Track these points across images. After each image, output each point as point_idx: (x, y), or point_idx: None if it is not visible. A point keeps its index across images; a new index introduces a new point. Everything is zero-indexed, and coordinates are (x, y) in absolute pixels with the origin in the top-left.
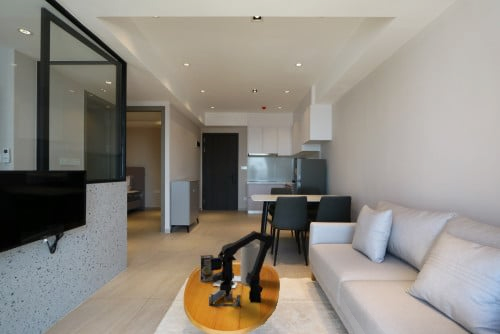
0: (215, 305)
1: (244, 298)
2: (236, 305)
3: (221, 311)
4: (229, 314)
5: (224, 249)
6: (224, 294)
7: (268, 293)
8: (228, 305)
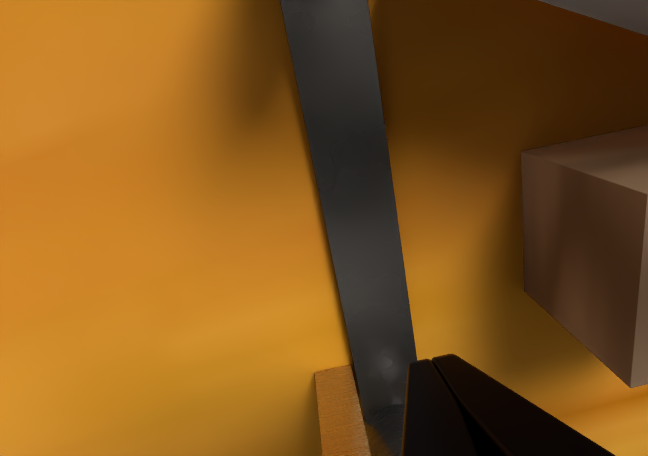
0: (287, 32)
1: (629, 434)
2: (377, 410)
3: (119, 235)
4: (81, 388)
5: None
6: (626, 199)
7: None
8: (351, 295)
